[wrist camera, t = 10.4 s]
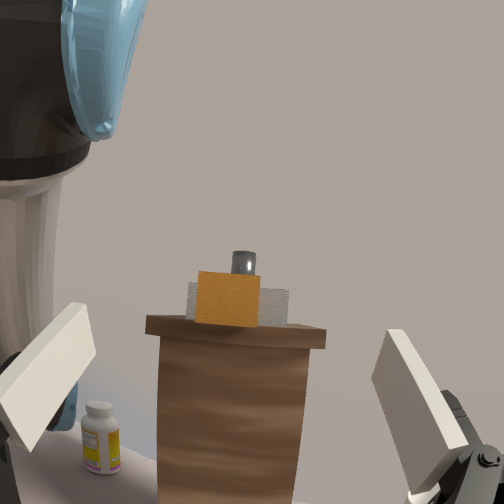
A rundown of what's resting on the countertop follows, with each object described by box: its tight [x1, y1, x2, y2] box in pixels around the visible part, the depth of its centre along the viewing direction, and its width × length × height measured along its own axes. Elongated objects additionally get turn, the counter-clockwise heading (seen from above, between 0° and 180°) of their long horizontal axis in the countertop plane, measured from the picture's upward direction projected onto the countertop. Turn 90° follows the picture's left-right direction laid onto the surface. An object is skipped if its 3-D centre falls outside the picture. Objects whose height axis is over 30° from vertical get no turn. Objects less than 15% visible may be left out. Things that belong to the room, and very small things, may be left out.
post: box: [145, 315, 326, 504], centre depth 28 cm, size 14×14×30 cm
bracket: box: [186, 251, 289, 328], centre depth 25 cm, size 20×8×7 cm, turn 0°
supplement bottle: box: [81, 400, 121, 475], centre depth 43 cm, size 7×7×13 cm
